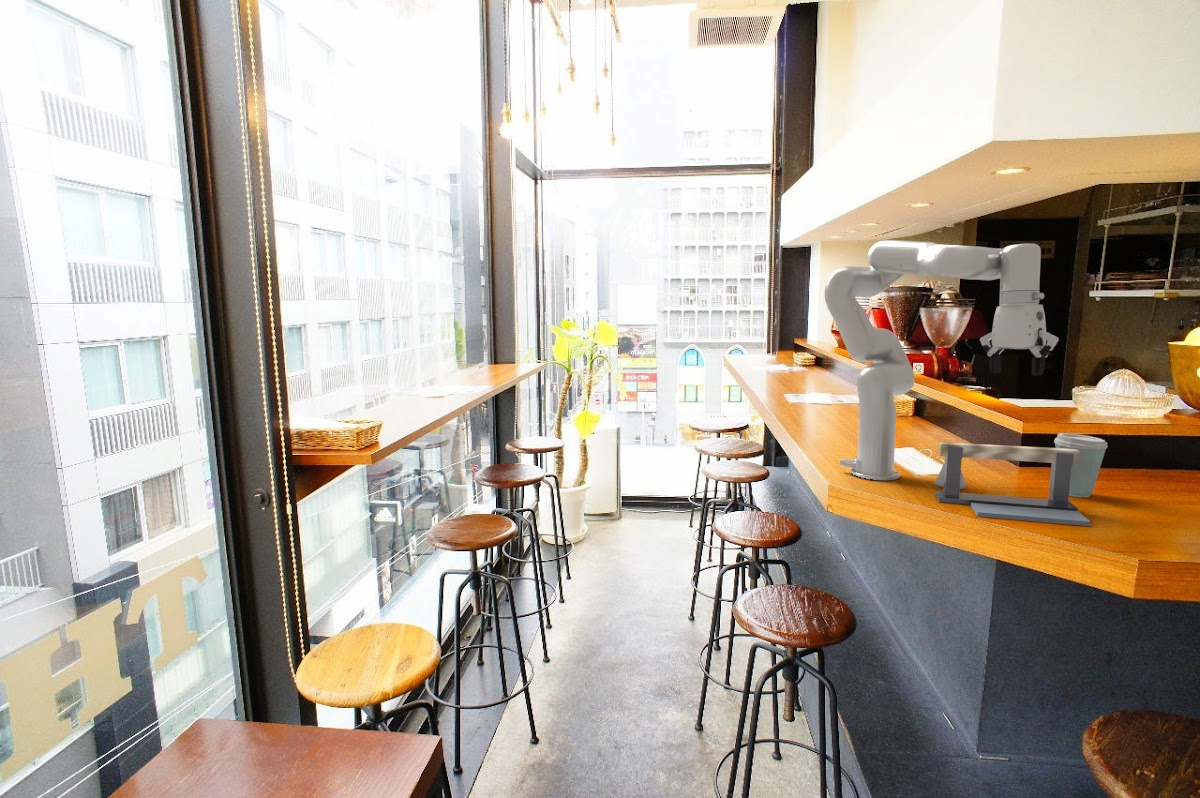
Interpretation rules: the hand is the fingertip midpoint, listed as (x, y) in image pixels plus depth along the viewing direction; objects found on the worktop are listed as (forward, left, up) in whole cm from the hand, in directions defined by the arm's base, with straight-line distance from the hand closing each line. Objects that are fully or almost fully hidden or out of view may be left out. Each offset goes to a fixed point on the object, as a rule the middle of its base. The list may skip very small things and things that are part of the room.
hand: (1015, 374), depth 147 cm
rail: (-1, 0, -20) cm, 20 cm away
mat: (+2, -9, -31) cm, 32 cm away
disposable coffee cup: (+18, +15, -31) cm, 39 cm away
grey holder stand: (-1, 0, -31) cm, 31 cm away
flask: (-10, +14, -31) cm, 36 cm away
